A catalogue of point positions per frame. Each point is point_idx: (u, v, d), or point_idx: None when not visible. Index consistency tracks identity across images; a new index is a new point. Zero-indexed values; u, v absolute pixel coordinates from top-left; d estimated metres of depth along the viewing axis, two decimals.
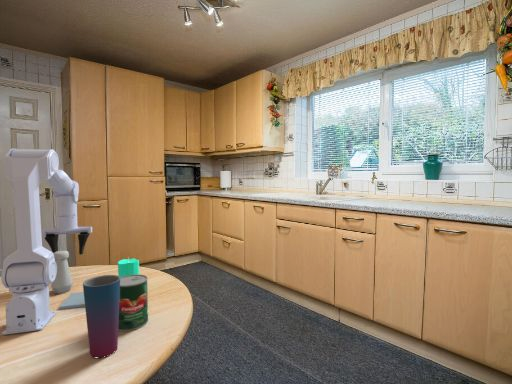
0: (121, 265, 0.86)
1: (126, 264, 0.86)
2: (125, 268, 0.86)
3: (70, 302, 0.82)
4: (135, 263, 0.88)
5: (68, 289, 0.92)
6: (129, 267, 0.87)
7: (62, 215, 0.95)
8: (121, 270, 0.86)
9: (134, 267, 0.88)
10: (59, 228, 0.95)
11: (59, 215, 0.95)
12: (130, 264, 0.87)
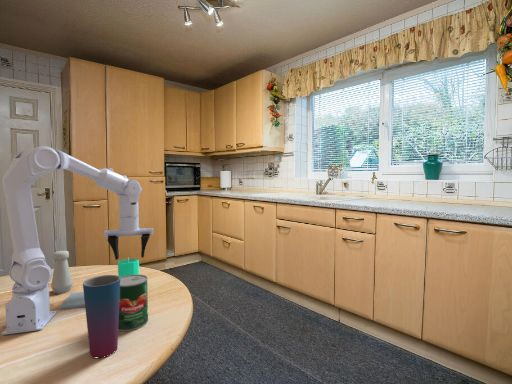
0: (121, 265, 0.86)
1: (126, 264, 0.86)
2: (125, 268, 0.86)
3: (70, 302, 0.82)
4: (135, 263, 0.88)
5: (68, 289, 0.92)
6: (129, 267, 0.87)
7: (119, 216, 0.91)
8: (121, 270, 0.86)
9: (134, 267, 0.88)
10: (122, 230, 0.90)
11: None
12: (130, 264, 0.87)
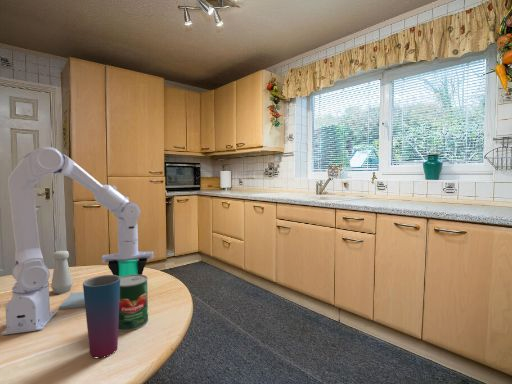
0: (121, 265, 0.86)
1: (126, 264, 0.86)
2: (125, 268, 0.86)
3: (70, 302, 0.82)
4: (135, 263, 0.88)
5: (68, 289, 0.92)
6: (129, 267, 0.87)
7: (118, 240, 0.87)
8: (121, 270, 0.86)
9: (134, 267, 0.88)
10: (120, 255, 0.86)
11: None
12: (130, 264, 0.87)
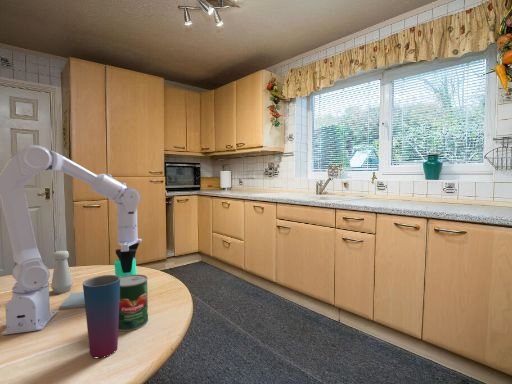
0: (115, 264, 0.86)
1: (119, 263, 0.86)
2: (118, 267, 0.86)
3: (70, 302, 0.82)
4: None
5: (68, 289, 0.92)
6: None
7: (117, 225, 0.87)
8: (116, 268, 0.86)
9: None
10: None
11: None
12: None
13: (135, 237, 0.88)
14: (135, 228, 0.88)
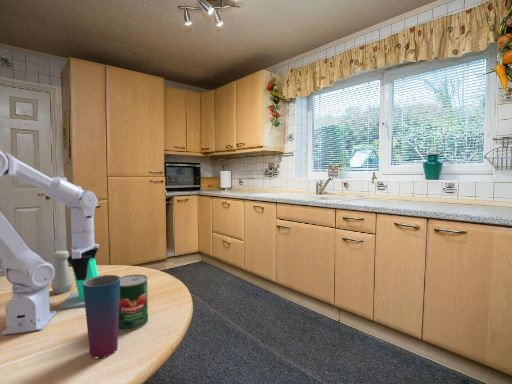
0: None
1: None
2: None
3: (70, 302, 0.82)
4: None
5: (68, 289, 0.92)
6: None
7: (72, 231, 0.82)
8: None
9: None
10: None
11: (71, 230, 0.83)
12: None
13: (91, 243, 0.84)
14: (90, 233, 0.83)
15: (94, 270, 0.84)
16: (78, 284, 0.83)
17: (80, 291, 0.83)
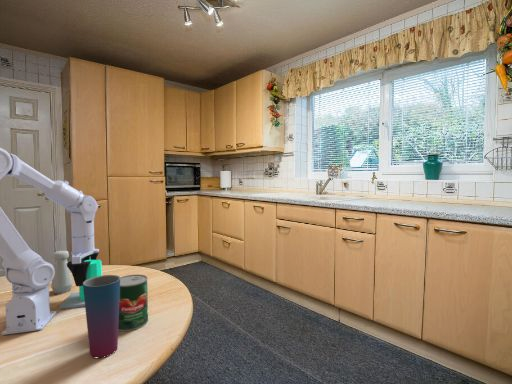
0: None
1: None
2: None
3: (70, 302, 0.82)
4: (93, 265, 0.83)
5: (68, 289, 0.92)
6: None
7: (72, 236, 0.82)
8: None
9: (92, 269, 0.83)
10: None
11: None
12: None
13: (91, 248, 0.84)
14: (91, 238, 0.84)
15: (99, 272, 0.85)
16: None
17: (82, 291, 0.83)
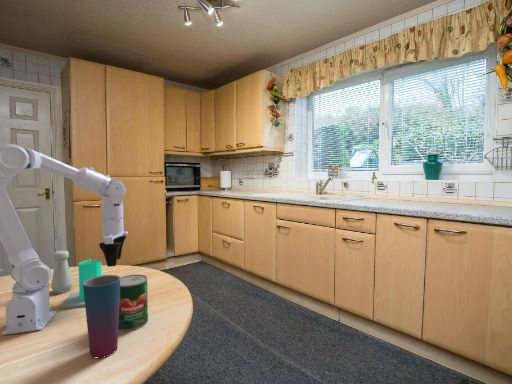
0: (79, 266, 0.83)
1: (83, 265, 0.82)
2: (82, 269, 0.83)
3: (70, 302, 0.82)
4: (93, 265, 0.83)
5: (68, 289, 0.92)
6: (86, 269, 0.83)
7: (102, 218, 0.85)
8: (79, 271, 0.83)
9: (92, 269, 0.83)
10: None
11: None
12: (87, 266, 0.83)
13: (120, 230, 0.86)
14: (120, 221, 0.86)
15: (99, 272, 0.85)
16: (81, 284, 0.83)
17: (82, 291, 0.83)
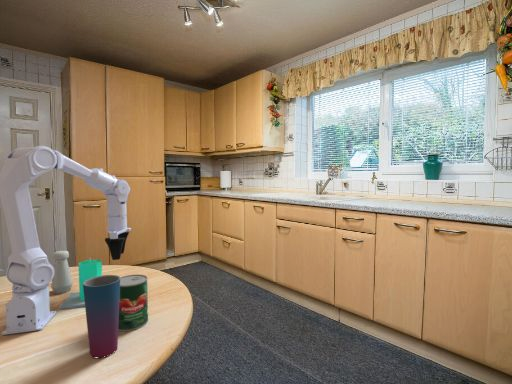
0: (79, 266, 0.83)
1: (83, 265, 0.83)
2: (82, 269, 0.83)
3: (70, 302, 0.82)
4: (93, 265, 0.83)
5: (68, 289, 0.92)
6: (86, 269, 0.83)
7: (108, 215, 0.92)
8: (79, 270, 0.83)
9: (92, 269, 0.83)
10: None
11: (107, 215, 0.93)
12: (87, 265, 0.83)
13: (124, 226, 0.93)
14: (124, 218, 0.93)
15: (99, 272, 0.85)
16: (81, 284, 0.83)
17: (82, 291, 0.83)
